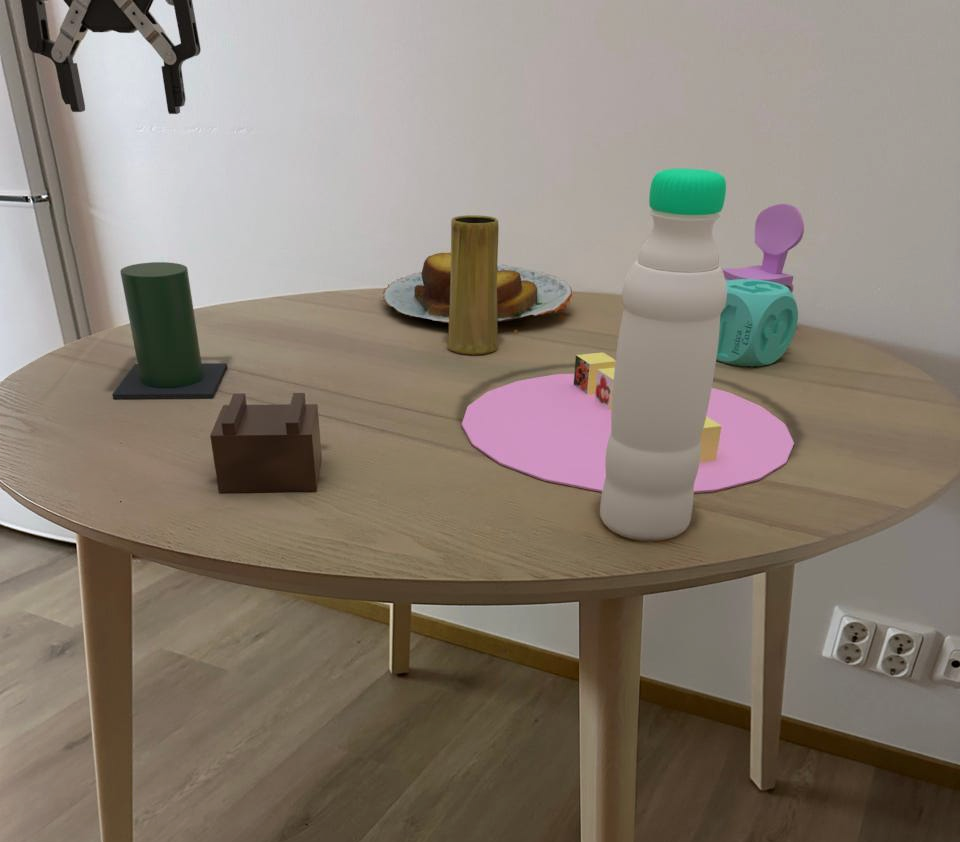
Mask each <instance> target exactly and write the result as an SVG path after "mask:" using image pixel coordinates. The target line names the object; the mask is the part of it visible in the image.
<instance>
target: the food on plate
mask: <svg viewBox="0 0 960 842" xmlns="http://www.w3.org/2000/svg"><path fill="white" fill-rule="evenodd" d="M421 269H422V270H421V271H420V272H418V273H417V272H415V273H413V274H409V275H406V276H405V277H400V278H399V279H398V278H397V279H396V280H395V281H393V282H391V283H390V284H387V287H386V288H383V292H382V294H383V301H385V302H386V303H387V305H388V306H389V307H393V308H394V309H395V310H396V312H397V313H401V314H404V315H408V316H409V317H411V318H412V317H416V318H421V319H428V320H432V321H433V322H434V321H436V322H441V323H446V324H447V323H448V324H449V311H450V282H451V252H437V253H434V254H432V255H428V256H427V258H425V259H424V262H423V266H422V268H421ZM572 297H573V290H572V287H571V286H570V285H569V284H568V282H566V280H563V279H561V278H560V277H557V276H555V275H552V274H548V273H545V272H543V271H538V270H533V269H529V268H525V267H522V266H519V267H514V266H512V265H506V264H497V323H501V322H502V323H503V322H509V321H513V320H519V319H523V318H527V317H530V316H531V315H533V316H535V317H537V316H539V315H541V316H542V315H545V314H552V313H553V312H554V313H555V314H556V313H557V311H559V310H561V309H563V310H562V311H561V312H560V314H559V316H558V317H559V318H565V317H566V315H564V313H563V312H564V308H566V307H567V305H568V303H570V301H571V299H572ZM513 332H514V333H516V332H518V329H515V330H513Z"/></svg>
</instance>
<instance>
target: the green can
mask: <svg viewBox="0 0 960 842" xmlns="http://www.w3.org/2000/svg"><path fill="white" fill-rule="evenodd" d="M119 273H120V277H121V278H120V279H121V283H122V288H123V289H122V290H123V293H124V297H125V298H124V299H125V304H126V309H127V310H126V311H127V315H128V320H129V325H130V326H129V327H130V331H131V336H132V341H133V347H134V352H135V357H136V364H138V368H139V374H140V379H141V382H142V383H143V384H145V385H147V386H151V387H158V388H175V387H182V386H187V385H191V384H194V383H196V382H199V381H200V380H201V379H202V378H203V370H202V364H203V363H202V356H201V351H200V344H199V337H198V331H197V323H196V316H195V309H194V303H193V298H192V297H193V296H192V291H191V283H190V276H189V269H188V266H186V265H184V264H181V263H177V262H165V261H154V262H141V263H135V264H130V265H127V266H124V267H122V268H121V269H120V272H119Z"/></svg>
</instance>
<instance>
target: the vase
mask: <svg viewBox="0 0 960 842" xmlns="http://www.w3.org/2000/svg"><path fill="white" fill-rule="evenodd" d="M450 226H451V227H450V228H451V229H450V233H451V234H450V253H451V282H450V311H449V323H448V338H447V342H446V346H447V348H448V350H449V351H451V352H453V353H456V354H461V355H467V356H468V355H469V356H480V355H488V354H492V353H494V352H495V351H497V350H498V349H499V338H498V337H499V336H498V322H497V265H498V259H499V258H498V257H499V256H498V255H499V254H498V253H499V229H500V228H499V220H498V219H497V218H496V217H494V216H488V215H478V214H477V215H471V214H469V215H458V216H455V217H452V218H451V221H450Z"/></svg>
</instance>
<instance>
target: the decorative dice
mask: <svg viewBox="0 0 960 842" xmlns="http://www.w3.org/2000/svg"><path fill="white" fill-rule="evenodd" d="M726 285H727V299H726V303H725V306H724V309H723V311H722V312H721V314H720V329H719V340H718V349H717V357H716V362H720V363H723V364H726V363H727V364H726V365H730V364H731V366H736V365H737V366H739V367H747V366H750V367H751V368H752V367H754V366H757V367H765V365H766V366H770V365H772V364H773V363H775V362H776V361H778V360H779V359H780V358H781V357H782V356H784V354H785V353H786V352H787V350H788V348H789V347H790V345H791V344H792V341H793V339H794V336H795V335H796V334H795V333H796V330H797V327H798V321H799V309H798V305H797V301H796V299H795V297H794V294H793V292H792V293H791V291H790V290H789V288H788V287H786V286H784V285H782V284H779V283H775V282H770V281H764V280H755V279H735V280H728V281H726ZM750 367H749V368H750ZM754 368H755V367H754Z"/></svg>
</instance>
